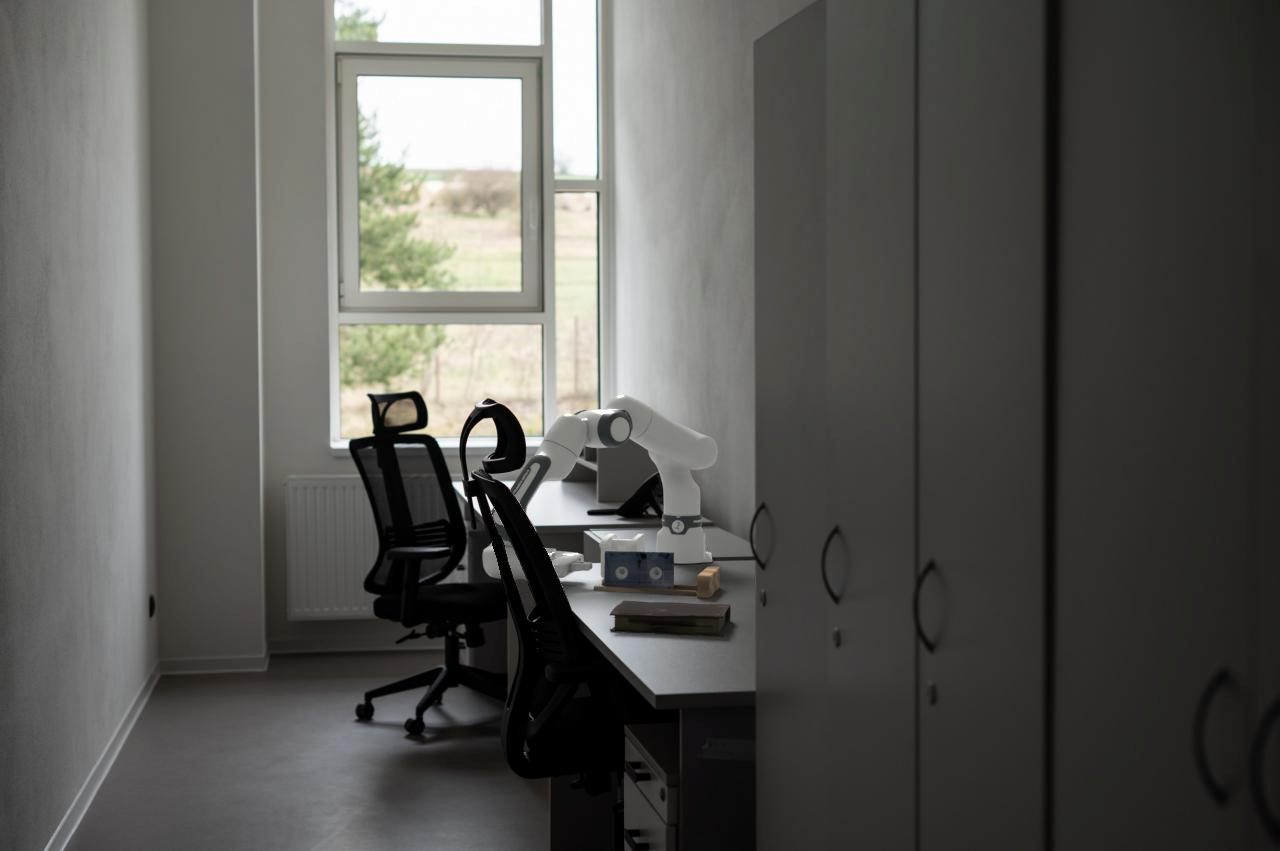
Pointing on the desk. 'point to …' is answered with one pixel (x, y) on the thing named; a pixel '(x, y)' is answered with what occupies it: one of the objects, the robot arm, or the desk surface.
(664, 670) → the desk surface
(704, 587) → the guide track
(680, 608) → the diary
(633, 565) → the vhs cassette tape
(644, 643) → the desk surface
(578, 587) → the desk surface
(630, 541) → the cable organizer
